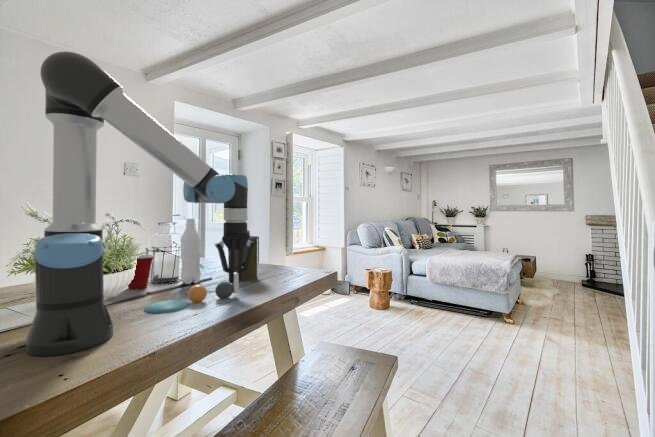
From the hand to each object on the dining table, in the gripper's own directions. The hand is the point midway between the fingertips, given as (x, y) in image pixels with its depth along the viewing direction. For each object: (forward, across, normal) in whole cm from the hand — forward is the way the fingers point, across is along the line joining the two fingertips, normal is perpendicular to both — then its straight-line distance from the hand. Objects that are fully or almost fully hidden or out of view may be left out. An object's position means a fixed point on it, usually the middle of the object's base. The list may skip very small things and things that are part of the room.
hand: (235, 292), depth 106 cm
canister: (+2, -11, -23) cm, 26 cm away
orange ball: (-1, +12, 0) cm, 12 cm away
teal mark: (+2, +20, 0) cm, 20 cm away
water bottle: (+2, +9, -27) cm, 29 cm away
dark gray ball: (-1, +4, 0) cm, 4 cm away
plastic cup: (+2, +26, -30) cm, 40 cm away
